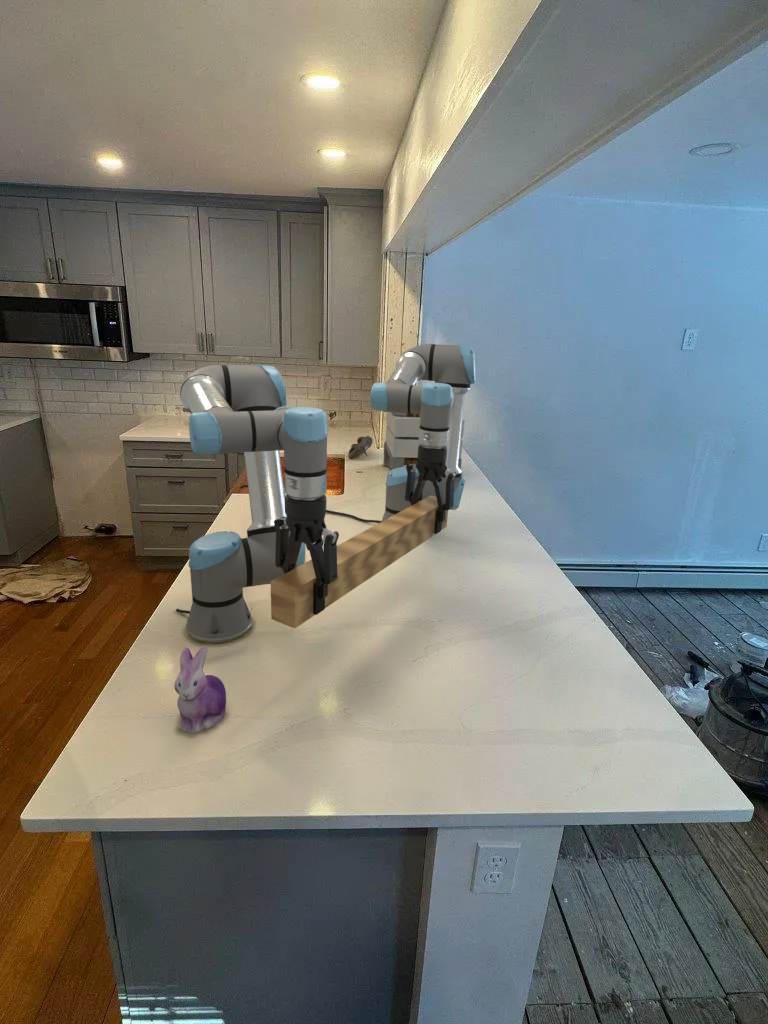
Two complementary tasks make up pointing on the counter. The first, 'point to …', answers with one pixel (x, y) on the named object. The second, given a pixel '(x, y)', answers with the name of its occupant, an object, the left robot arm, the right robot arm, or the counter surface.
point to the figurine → (198, 693)
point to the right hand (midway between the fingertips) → (426, 529)
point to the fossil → (360, 447)
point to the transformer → (405, 440)
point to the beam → (354, 561)
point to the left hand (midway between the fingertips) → (305, 606)
